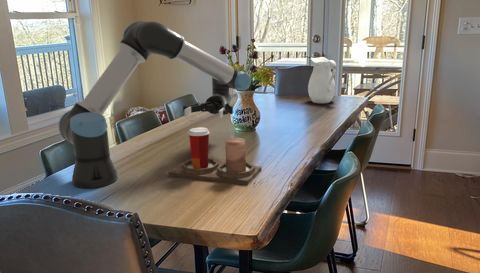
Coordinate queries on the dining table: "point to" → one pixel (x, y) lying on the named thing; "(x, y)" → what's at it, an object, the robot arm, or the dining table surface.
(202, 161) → the paper cup
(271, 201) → the dining table surface
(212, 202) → the dining table surface
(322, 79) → the pitcher
